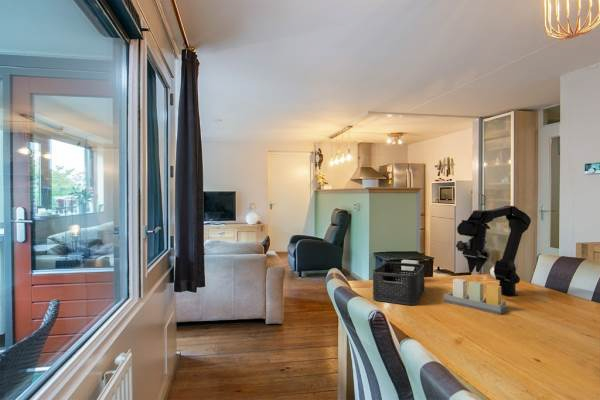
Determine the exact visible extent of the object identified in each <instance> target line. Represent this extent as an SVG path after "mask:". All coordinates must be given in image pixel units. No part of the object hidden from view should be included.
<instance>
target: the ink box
mask: <svg viewBox="0 0 600 400" xmlns="http://www.w3.org/2000/svg"><path fill="white" fill-rule="evenodd" d="M419 262H420V261H419V260H411V259H402V260H401V261H400V263H410V264H420V263H419ZM400 267H401V269H400V270H408V271H414V268H415V267H408V266H400ZM403 273H405V272H403ZM406 273H407V272H406ZM414 274H415V273H414ZM403 275H405V274H403ZM406 275H407V274H406ZM403 279H404V278H403Z"/></svg>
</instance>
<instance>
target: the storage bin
mask: <svg viewBox="0 0 600 400" xmlns="http://www.w3.org/2000/svg"><path fill="white" fill-rule="evenodd" d="M397 266H398V267H401V266H408V267H415V268H414V271H408V270H401V269H398V268H397ZM403 272H405V273H403ZM406 272H407V273H406ZM414 273H415V274H414ZM403 274H405V275H403ZM406 274H407V275H406ZM403 278H404V279H403ZM372 286H373V287H372V299H373V300H375V301H378V302H382V303H390V304H397V305H406V306H408V305H409V306H410V305H411V306H412V305H417V304H418V303H419V301H420V300H421V298H422V297H423V295H424V293H425V265H424V264H422V263H419V264H410V263H401V262H395V261H386V262H384V263H382V264H381V265H379V266H377V267H376V268H374V269H373V270H372Z"/></svg>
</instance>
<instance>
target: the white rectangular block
mask: <svg viewBox="0 0 600 400" xmlns="http://www.w3.org/2000/svg"><path fill="white" fill-rule="evenodd" d="M467 287H468V286H467V279H462V278H458V277H457V278H454V279H452V292H453V296H455V297H460V298H463V297H465V296H467V295H468V293H467Z"/></svg>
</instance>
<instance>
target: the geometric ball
mask: <svg viewBox="0 0 600 400" xmlns="http://www.w3.org/2000/svg"><path fill="white" fill-rule="evenodd" d="M494 266H495V265H493V266H492V267H491V268H490V270H489V273H490V275H491V277H492V278H493V279H494V280H496V277H495V274H494Z"/></svg>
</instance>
